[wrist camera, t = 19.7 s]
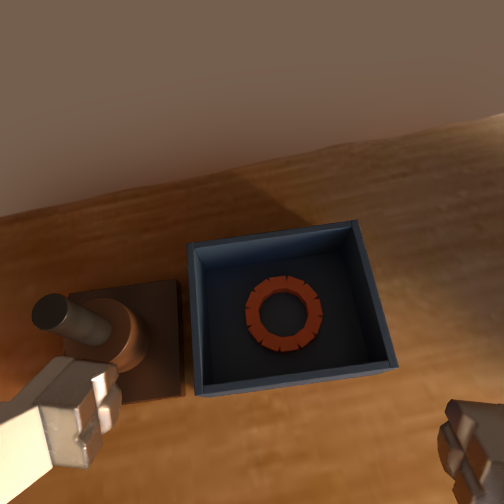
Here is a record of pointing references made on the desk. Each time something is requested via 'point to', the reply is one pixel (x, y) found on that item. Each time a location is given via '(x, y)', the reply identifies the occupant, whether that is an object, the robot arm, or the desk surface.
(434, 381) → the desk surface
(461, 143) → the desk surface
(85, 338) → the ring toss
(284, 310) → the bin
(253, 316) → the ring
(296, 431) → the desk surface
